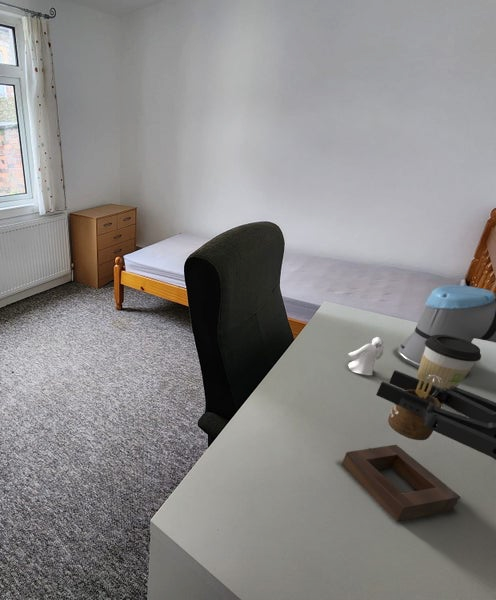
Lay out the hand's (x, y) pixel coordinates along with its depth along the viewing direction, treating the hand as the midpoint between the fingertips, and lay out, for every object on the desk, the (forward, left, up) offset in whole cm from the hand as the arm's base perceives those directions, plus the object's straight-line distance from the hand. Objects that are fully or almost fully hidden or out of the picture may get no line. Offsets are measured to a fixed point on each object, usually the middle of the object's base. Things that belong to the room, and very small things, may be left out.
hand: (386, 382), depth 62 cm
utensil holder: (-2, +5, -7) cm, 9 cm away
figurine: (-27, -25, -18) cm, 41 cm away
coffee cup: (-36, -13, -18) cm, 42 cm away
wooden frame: (-1, +8, -18) cm, 20 cm away
